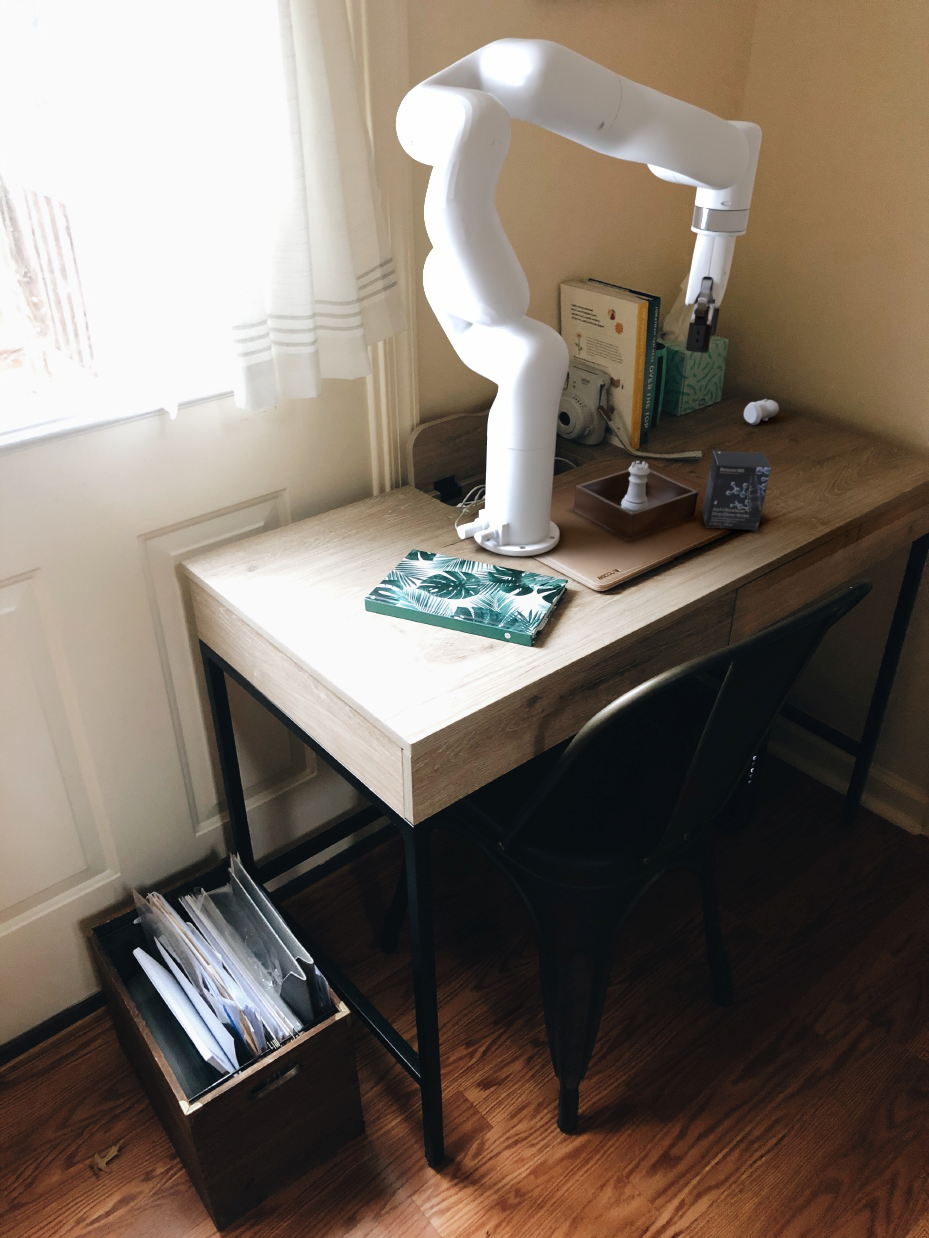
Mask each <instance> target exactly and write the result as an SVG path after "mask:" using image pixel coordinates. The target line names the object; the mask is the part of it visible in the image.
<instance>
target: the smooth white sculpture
mask: <svg viewBox="0 0 929 1238" xmlns="http://www.w3.org/2000/svg"><path fill="white" fill-rule="evenodd" d="M779 410H780V407H779V404H778V402H777V401H775V400H772V399H768V398H764V399H761V400H757V401H751V402H749V403H748V404H747V405H746V406H745V408H744V410H743V418H744V420H745V421H746V422H747V423H748V424H749V425H752V426H756V425H758V424H759V423H760V422H761V420H762V421H767V422H768V421H769V419H771V418H773V417H775V416H776V415H777V414H778V412H779Z"/></svg>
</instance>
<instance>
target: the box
mask: <svg viewBox="0 0 929 1238" xmlns="http://www.w3.org/2000/svg"><path fill="white" fill-rule="evenodd" d="M771 470H772V469H771V464H770V463H769V460H768V458H767V456H766V453H764V452H745V451H744V452H743V451H726V450H725V451H723V450H718V449H717V450H715V449H713V450H712V455H711V461H710V467H709V472H708V478H707V482H706V483H707V484H706V489H705V495H704V499H703V506H702V516H703V521H704V524H705V528H707V529H712V528H713V529H730V530H740V531H741V530H743V531H751V532H753V531H754V532H756V531H757V532H758V530H759V528H760V527H759V526H760V521H761V517H762V513H763V507H764V503H765V497H766V493H767V490H768V489H767V488H768V484H769V480H770V474H771Z"/></svg>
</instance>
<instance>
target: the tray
mask: <svg viewBox="0 0 929 1238" xmlns="http://www.w3.org/2000/svg"><path fill="white" fill-rule="evenodd" d="M649 470H650V473H649V474H648V475H647V476H646V478H647V482H646V485H645V494H646V497H647V501H648V502H649V507H647V508H644V509H641V510H638V511H635V512H630V511H628V510H626V509H624V508H622V507H621V506H622V505H621V502H622V500H623V498H625V495H626V494H627V492H628V488H629V484H630V480H629V477H630V476H631V473H630V472H629V470H628V469H625V470H622V471H619V472H615V473H612V474H609V475H606V476H602V477H599V478H596V479H593V480H590V481H587V482H582V483H580V484H577V485H575V491H574V500H573V501H574V502H573V512H574V513H577V514H578V515H580V516H582V517H583V518H586V519H587V520H589V521H591V522H593V523H595V524H596V525H598V526H600V527H602V528H604V529H605V530H607V531H609V532H611V533H613V534H615V536H616V535H617V536H618V537H620V538H622V539H624V540H626V541H628V542H630V541H634V540H637V539H638V538H641V537H644V536H647V535H649V534H652V533H655V532H658V531H661V530H663V529H666V528H669V527H671V526H674V525H677V524H680V523H683V522H685V521H688V520H691V519H693V518H695V517H696V511H697V506H698V505H697V504H698V498H699V491H698V490H696V489H693V488H691V487H689V486H687V485H685V484H683V483H680V482H679V481H676V480H674V479H672V478H670V477H668V476H666V475H663V474H661V473H659V472H657V471H655V470H654V469H653V470H652V469H651V468H649Z"/></svg>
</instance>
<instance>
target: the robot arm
mask: <svg viewBox="0 0 929 1238" xmlns="http://www.w3.org/2000/svg"><path fill="white" fill-rule="evenodd" d="M511 120H516V121H523V122H526V123H529V124H533V125H535V126H537V127H540V128H542V129H545V130H546V131H549V132H550V133H551V132H552V133H553V134H556V135H559V136H561V137H563V138H566V139H568V140H570V141H573V142H575V143H577V144H579V145H581V146H583V147H586V148H588V149H590V150H592V151H595V152H597V153H599V154H603V155H604V156H605V155H606V156H609V157H612V158H615V159H620V160H623V161H627V162H634V163H641V164H645V165H647V167H648V169H649V170H650V172H651V173H652V174H653V175H654V176H656V177H657V178H658V179H661V180H663V181H666V182H669V183H673V184H680V185H684V186H691V187H695V188H696V193H695V201H694V206H693V214H692V221H691V228H690V230H691V231H692V232H694V233H696V234H697V236H696V240H695V244H694V249H693V254H692V260H691V266H690V272H689V278H688V284H687V289H686V290H687V291H686V296H685V302H684V304H685V306H687V307H690V306H691V305H693V304H694V305H693V308H692V309H693V310H692V314H691V319H690V321H689V325H688V330H687V338H686V344H685V350H686V352H691V353H701V354H707V353H709V349H710V344H711V337H712V336H715V335H716V332H717V327H718V321H719V314H720V308H719V307H720V305H721V303H722V301H723V299H724V296H725V292H726V289H727V287H728V286H727V285H728V281H729V277H730V273H731V268H732V263H733V257H734V252H735V245H736V240H737V237H740V236H744V235H746V234H747V226H748V221H749V215H750V208H751V204H752V197H753V192H754V186H755V180H756V173H757V169H758V164H759V163H758V162H759V156H760V151H761V145H762V137H763V132H762V129H761V127H760V125H759V124H758V123H754V122H751V121H744V120H725V119H724V118H722V117H720V116H718V115H716V114H714V113H712V112H711V111H708V110H706V109H703V108H702V107H699V106H697V105H694V104H692V103H689V102H686V101H683V100H681V99H678V98H676V97H673V96H671V95H668V94H665V93H664V92H661V91H659V90H657V89H654V88H652V87H650V86H646V85H644V84H641V83H638V82H636V81H635V80H631V79H629V78H627V77H625V76H623V75H621V74H619V73H617V72H615V71H614V70H611V69H610V68H607V67H605V66H603V65H602V64H600V63H598V62H596V61H594V60H591V59H590V58H588V57H586V56H584V55H582V54H581V53H578V52H577V51H575V50H573V49H571V48H568V47H567V46H565V45H562V44H561V43H558V42H556V41H552V40H548V39H543V38H540V39H539V38H524V37H523V38H522V37H504V38H499V39H497V40H494V41H492V42H489V43H488V44H485V45H484V46H481V47H479V48H478V49H476V50H474V51H473V52H471V53H469V54H468V55H466V56H464V57H462V58H460V59H458V60H457V61H455V62H454V63H453V64H451V65H449V66H447V67H445V68H444V69H442V70H440V71H438V72H437V73H435V74H433V75H431V76H430V77H427V78H426V79H424V80H423V81H421V82H420V83H418V84H417V85H416V86H414V87H412V89H411V90H410V91H408V93H406V95H405V97H404V98H403V99H402V101H401V103H400V106H399V108H398V110H397V114H396V123H395V127H396V133H397V137H398V141H399V143H400V144H401V146H402V148H403V149H404V151H405V152H406V153H407V154H408V155H409V156H410V157H411V158H412V159H414V160H416V161H417V162H419V163H421V164H425V165H428V166H432V167H433V168H432V171H431V174H430V178H429V182H428V187H427V191H426V195H425V201H424V211H423V214H424V222H425V223H424V224H425V228H426V232H427V234H428V238H429V240H430V242H431V244H432V246H433V248H432V250H431V251H430V252H429V253H428V256H427V257H426V260H425V263H424V268H423V276H422V280H423V281H422V282H423V289H424V292H425V296H426V299H427V301H428V303H429V305H430V307H431V309H432V311H433V313H434V315H435V316H436V318H437V320H438V322H439V324H440V326H441V328H442V329H443V331H444V333H445V335H446V336H447V338H448V340H449V342H450V344H451V345H452V347H453V349H454V350H455V352H456V354H457V355H458V357H459V358H460V360H461V361H462V362H463V363H464V365H466V366H467V368H469V369H470V370H472V371H473V372H475V373H476V374H478V375H480V376H482V377H484V378H485V379H488V380H489V381H492V382H493V383H494V384H496V385H497V386H498V390H497V394H496V397H495V399H494V401H493V403H492V406H491V408H490V410H489V414H488V420H487V439H486V440H487V442H486V443H487V445H486V470H485V471H486V473H485V475H486V477H485V500H484V501H485V505H484V508H483V509H480V510H478V517H477V518H475V519H474V521H473V522H468V523H465V524H461V525H459V526H458V527H457V529H456V531H457V536H458V537H459V538H460V539H462V540H465V539H467V538H470V537H473V538H474V540H475V541H476V543H477V544H479V545H480V546H481V547H482V548H484V549H486V550H488V551H489V552H492V553H495V554H499V555H504V556H510V557H529V556H530V557H531V556H536V555H540V554H544V553H546V552H548V551H551V550H552V549H553V548H554V547H556V546H557V545H558V543H559V541H560V529H559V527H558V525H557V524H556V523H555V522H553V521H552V520H551V511H552V497H553V485H554V470H555V458H556V457H555V456H556V443H557V430H558V429H557V428H558V417H559V410H560V403H561V398H562V394H563V390H564V387H565V384H566V380H567V376H568V372H569V366H570V353H569V349H568V346H567V343H566V341H565V339H564V338H563V336H562V335H560V333H559V332H558V331H557V330H555V329H554V328H553V327H551V326H550V325H548V324H547V323H544V322H542V321H540V320H537V319H534V318H533V317H530V316H528V315H526V314H527V312H528V310H529V306H530V301H531V291H530V285H529V281H528V279H527V276H526V274H525V271H524V269H523V267H522V265H521V263H520V261H519V259H518V257H517V254H516V252H515V250H514V248H513V245H512V243H511V241H510V239H509V237H508V234H507V231H505V228H504V226H503V223H502V221H501V218H500V216H499V215H500V214H499V212H498V210H497V205H496V191H497V185H498V181H499V178H500V174H501V171H502V169H503V166H504V164H505V162H506V160H507V156H508V155H509V154H508V153H509V150H510V147H511V143H512V121H511Z"/></svg>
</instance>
